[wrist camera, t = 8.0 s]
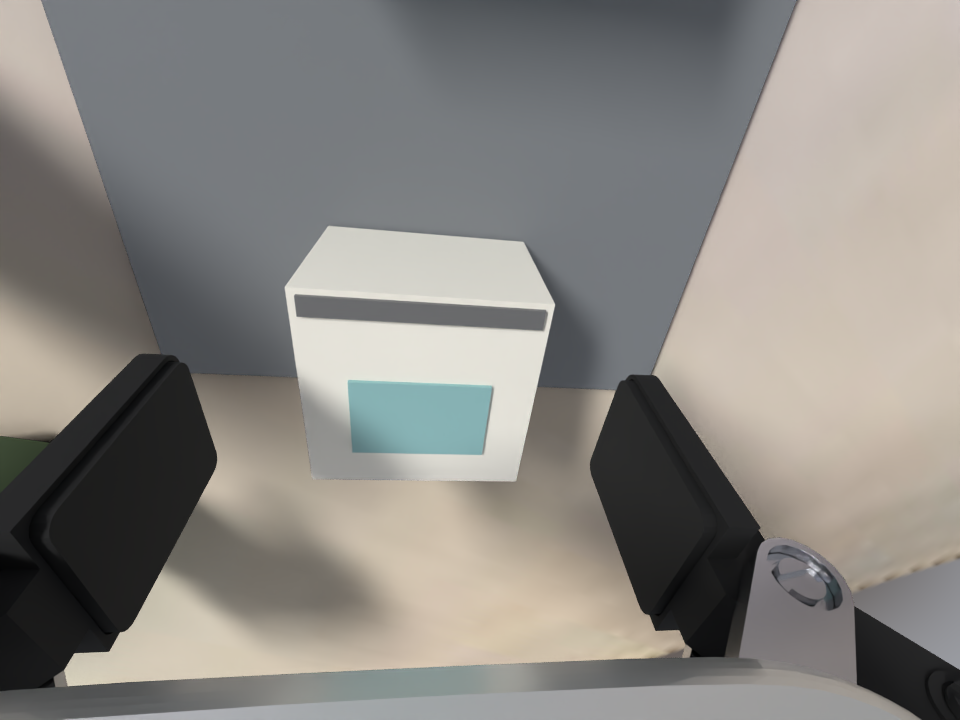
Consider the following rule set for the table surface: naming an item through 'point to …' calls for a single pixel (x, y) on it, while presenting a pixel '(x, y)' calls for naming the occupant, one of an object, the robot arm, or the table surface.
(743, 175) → the table surface
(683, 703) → the robot arm
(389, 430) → the white box
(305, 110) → the mat
